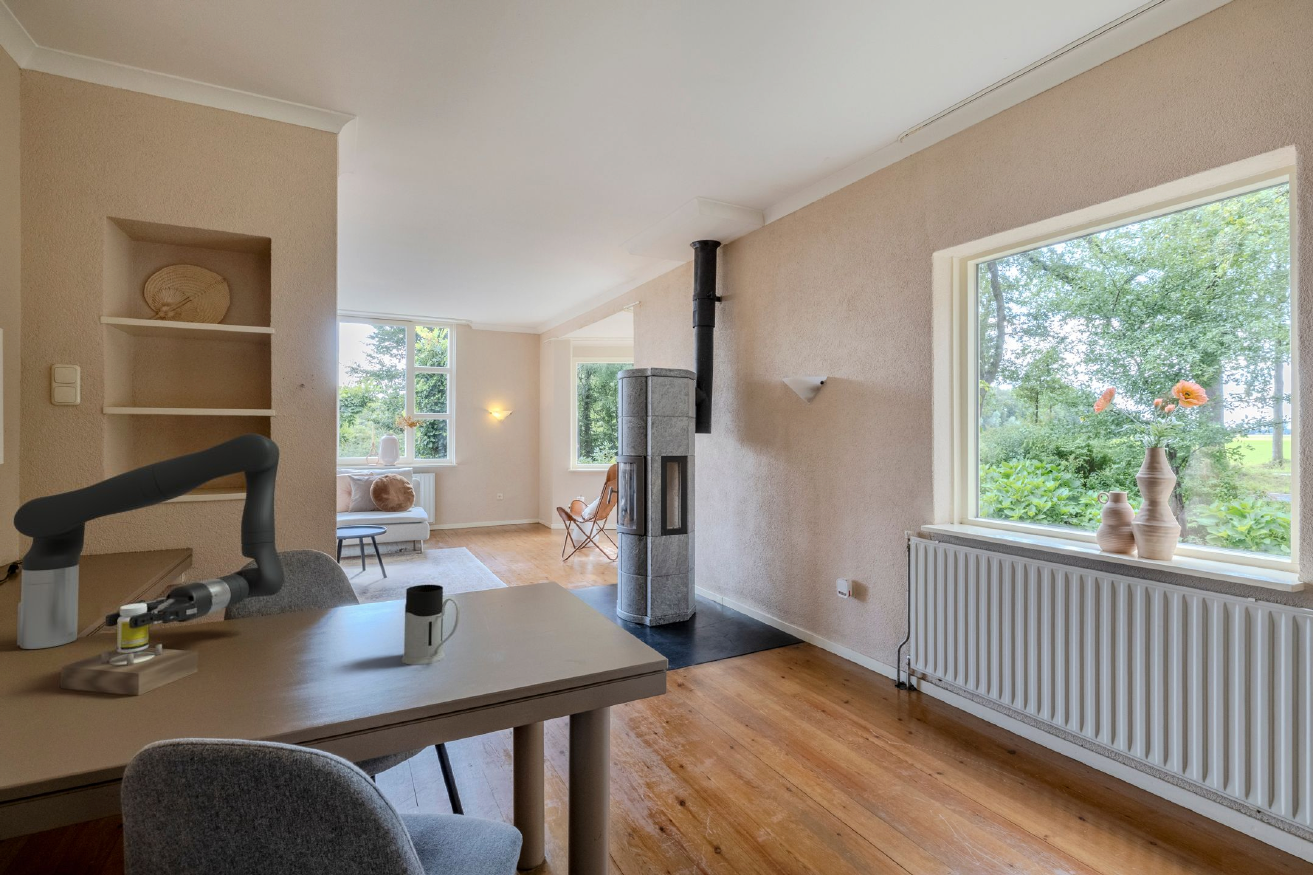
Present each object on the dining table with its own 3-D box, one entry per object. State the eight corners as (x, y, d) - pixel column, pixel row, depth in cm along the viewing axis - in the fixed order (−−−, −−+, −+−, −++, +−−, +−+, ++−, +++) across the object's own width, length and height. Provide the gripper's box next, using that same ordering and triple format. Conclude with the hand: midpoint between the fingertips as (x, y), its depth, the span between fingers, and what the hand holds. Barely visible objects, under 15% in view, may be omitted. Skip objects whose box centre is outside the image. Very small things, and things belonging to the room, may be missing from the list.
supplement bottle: (154, 646, 122) (155, 603, 122) (127, 654, 117) (128, 610, 117) (138, 643, 123) (138, 601, 123) (110, 651, 119) (111, 607, 119)
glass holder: (424, 648, 141) (425, 582, 141) (472, 658, 134) (473, 589, 134) (392, 660, 133) (393, 590, 133) (442, 672, 126) (443, 598, 127)
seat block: (61, 687, 115) (61, 655, 116) (125, 665, 127) (126, 636, 127) (138, 695, 113) (139, 662, 113) (197, 671, 125) (198, 641, 125)
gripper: (171, 580, 135) (87, 600, 119) (228, 583, 133) (151, 604, 116) (170, 614, 135) (87, 639, 119) (227, 618, 133) (150, 644, 116)
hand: (119, 622), depth 118 cm, fingers closed on supplement bottle, 4 cm apart
